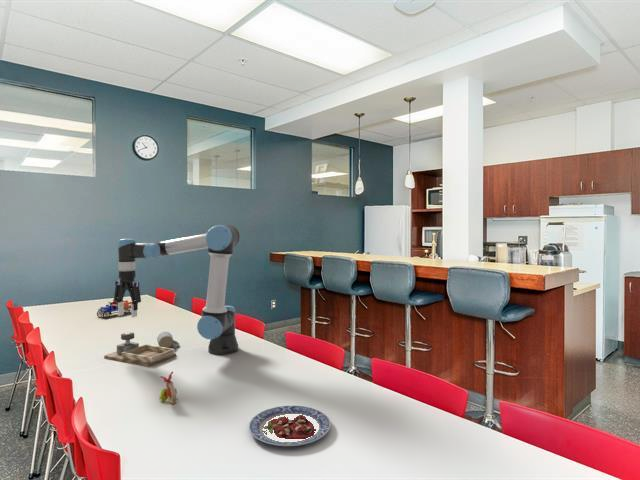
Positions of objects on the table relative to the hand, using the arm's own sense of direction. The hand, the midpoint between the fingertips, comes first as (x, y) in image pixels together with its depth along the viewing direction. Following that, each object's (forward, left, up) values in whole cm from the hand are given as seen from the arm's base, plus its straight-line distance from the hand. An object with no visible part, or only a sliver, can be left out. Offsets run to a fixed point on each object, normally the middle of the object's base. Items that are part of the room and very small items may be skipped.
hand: (127, 315), depth 201 cm
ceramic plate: (-107, +32, -20) cm, 114 cm away
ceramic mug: (-9, -18, -20) cm, 28 cm away
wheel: (0, 0, -15) cm, 15 cm away
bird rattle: (-58, +32, -20) cm, 70 cm away
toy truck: (+80, -61, -20) cm, 102 cm away
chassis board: (-8, 0, -19) cm, 21 cm away
